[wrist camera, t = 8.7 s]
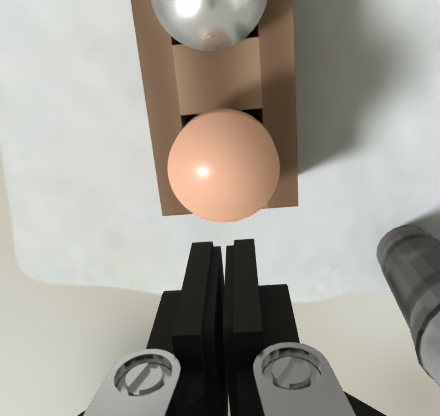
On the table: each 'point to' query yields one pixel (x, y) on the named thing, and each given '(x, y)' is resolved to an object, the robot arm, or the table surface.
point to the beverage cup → (415, 288)
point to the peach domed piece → (223, 165)
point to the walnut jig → (221, 90)
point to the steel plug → (209, 21)
